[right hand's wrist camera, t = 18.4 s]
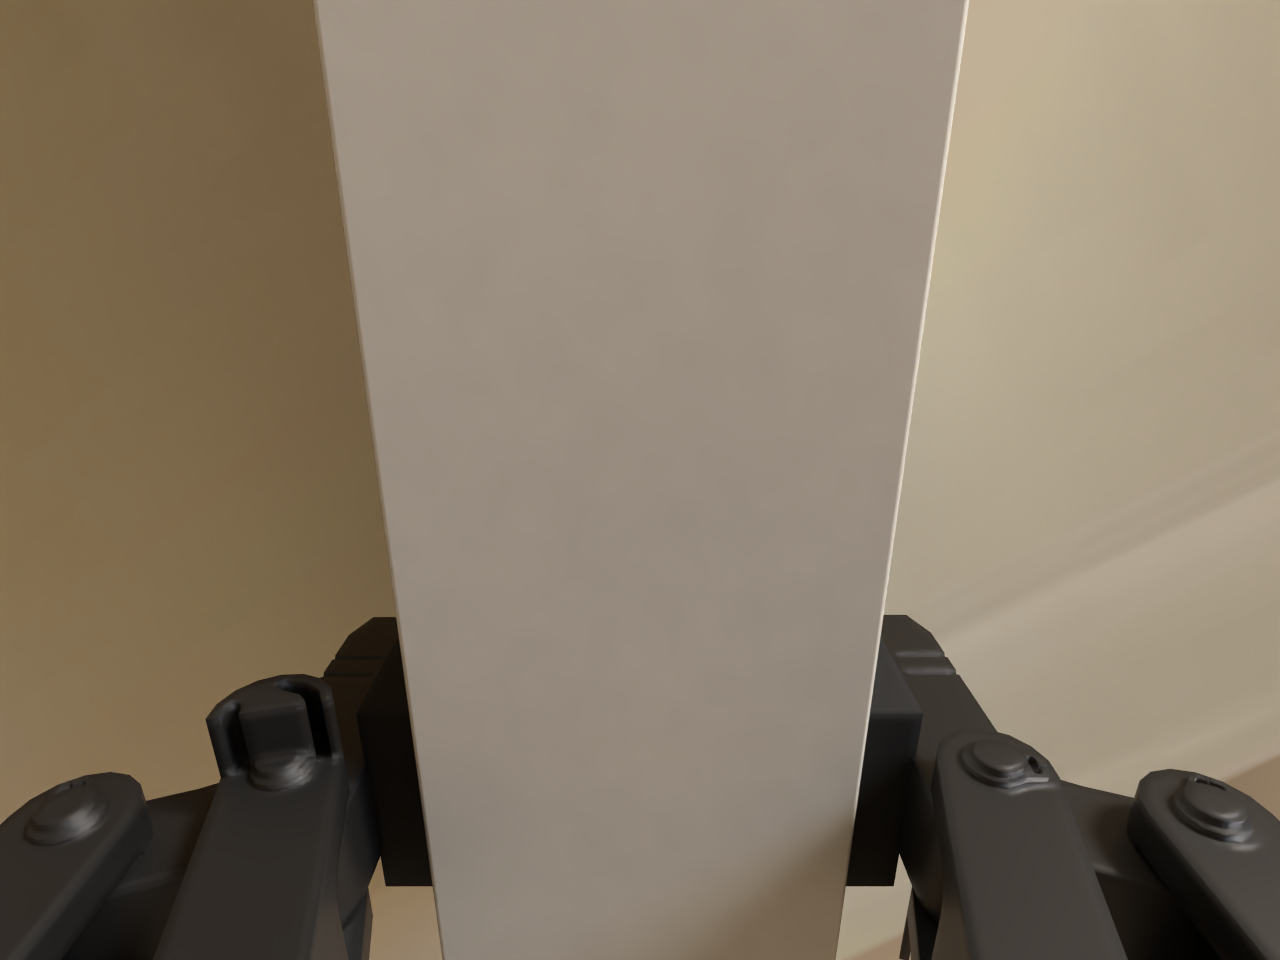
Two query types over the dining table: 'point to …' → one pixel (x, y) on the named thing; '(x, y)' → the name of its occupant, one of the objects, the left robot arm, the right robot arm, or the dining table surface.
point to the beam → (640, 439)
